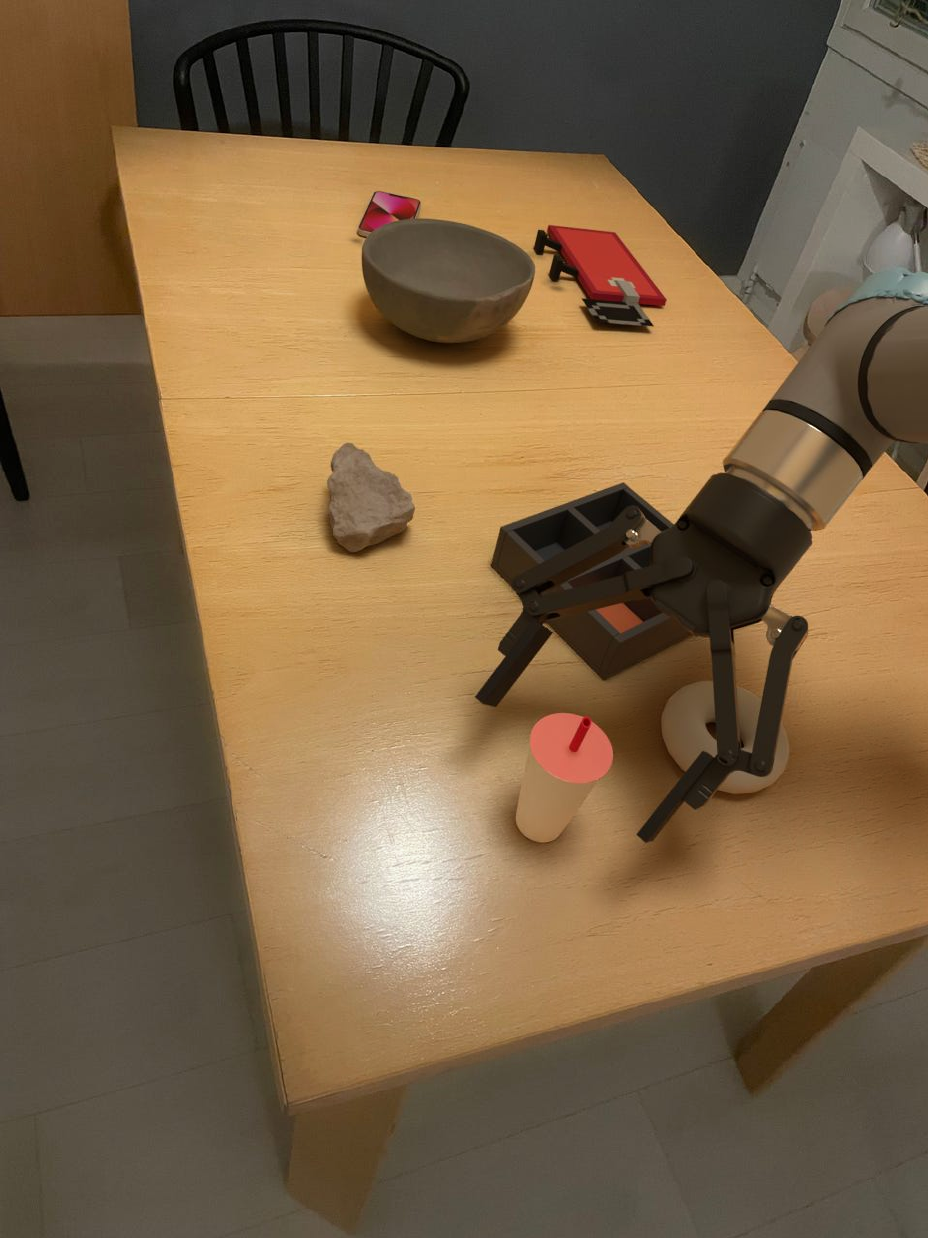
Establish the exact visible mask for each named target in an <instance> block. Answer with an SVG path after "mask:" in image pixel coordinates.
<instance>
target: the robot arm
mask: <svg viewBox="0 0 928 1238" xmlns="http://www.w3.org/2000/svg"><path fill="white" fill-rule="evenodd" d="M894 442H899V443H908V444H928V273H927V272H924V271H922V270H921V271H920V270H919V271H916V272H912V271H911V270H909V269H907V268H906V267H901V266H900V267H886V268H882V269H880V270H877V271H875V272H874V273H871V274H870V275H868V276H867V277H866V278H865V279H864V280H863V281H861V283H860V284H859V286H858V287H857V288H856V289H855V290H854V291H853V293H851V295H850V296H849V297H847V299H846V301H844V303H842V304H841V305H839V306H838V307H837V308H836V309H835V311H834V312H833V313H832V314H831V315H830V316H829V318H828V319H827V321H826V322H825V324H824V327H823V328H822V329H821V331H820V332H819V334H818V335H817V336H816V337H815V339H814V341H813V342H812V343H811V344H810V345H809V347H808V349H807V350H806V351H805V353H804V354H803V355H802V356H801V358H800V359H799V361H798V362H797V363H796V365H795V366H794V367H793V369H792V370H791V371H790V373H789V374H788V375H787V377H786V378H785V379H784V380H783V382H782V384H781V385H780V386H779V387H778V389H777V390H776V392H775V393H774V394H773V395H772V397H771V398H770V399H769V401H768V402H767V404H766V405H765V406H764V408H762V410H761V411H760V412H759V413H758V415H757V416H756V417H755V419H754V420H753V421H752V422H751V424H750V425H749V427H748V428H747V429H746V430H745V431H744V432H743V434H742V435H741V437H740V438H739V439H738V441H736V443H735V444H734V446H732V448H731V449H730V451H729V452H728V453H727V455H726V456H725V457H724V458H723V460H722V467H723V471H724V472H717V473H714V474H712V475H711V476H710V477H709V478H708V479H707V481H706V482H705V483H704V485H703V486H702V487H701V488H700V490H699V491H698V493H697V494H696V495H695V496H694V498H692V500H691V502H690V503H689V504H688V505H687V506H686V508H685V509H684V510H683V512H682V513H681V514H680V516H679V517H678V519H677V520H676V521H675V522H674V523H673V524H674V525H673V526H671V527H670V528H669V529H667V530H665V531H663V532H661V531H660V530H659V529H658V528H656V527H655V526H654V525H653V524H652V523H651V522H649V521H648V520H647V519H646V518H645V517H644V515H643V513H642V512H641V510H640V509H639V507H637V506H634V505H631V506H628V507H627V508H625V509H624V510H623V511H622V512H621V513H620V515H619V516H618V517H617V518H616V519H615V520H614V521H613V522H612V523H611V524H610V525H609V526H608V527H607V528H605V529H603V530H602V531H600V532H598V533H596V534H594V535H592V536H590V537H589V538H587V539H585V540H583V541H581V542H579V543H577V544H576V545H574V546H572V547H570V548H568V549H566V550H564V551H562V552H561V553H559V554H557V555H555V556H553V557H551V558H549V559H548V560H546V561H544V562H542V563H540V564H538V565H536V566H535V567H533V568H531V569H529V570H527V571H525V572H523V573H522V574H520V575H518V576H516V577H515V578H514V579H513V580H512V584H511V585H512V586H511V585H510V586H511V589H512V590H513V591H514V592H515V593H516V595H517V597H518V599H519V600H520V602H521V603H522V611H521V613H520V615H519V616H518V617H517V619H516V620H515V621H514V622H513V624H512V626H510V628H509V630H507V632H506V633H505V635H504V636H503V637H502V639H501V640H500V641H499V644H498V647H497V651H498V652H499V653H500V654H502V655H503V656H504V657H503V659H502V660H501V661H500V663H499V664H498V665H497V667H496V668H495V669H494V671H493V672H492V673H491V675H490V676H489V677H488V679H487V680H486V681H485V682H484V684H483V685H482V687H481V688H480V689H479V690H478V692H477V693H476V695H475V696H474V698H475V699H476V700H477V701H478V702H480V703H481V704H482V705H485V706H489V707H493V708H497V707H498V705H500V703H501V702H502V700H503V699H504V697H505V696H506V695H507V694H508V693H509V691H510V690H511V689H512V687H513V686H514V685H515V684H516V682H517V680H518V679H519V678H520V677H521V675H522V674H523V673H524V671H525V670H526V669H527V668H528V666H529V665H530V664H531V663H532V661H533V660H534V658H535V657H536V656H537V655H538V653H539V652H540V651H541V650H542V649H543V646H544V645H545V644H546V643H547V642H548V640H549V638H550V637H551V636H552V635H553V634H554V633H553V631H552V630H551V629H549V628H548V627H546V626H545V625H549V624H548V622H547V621H551V620H555V619H559V618H563V617H567V616H571V615H575V614H579V613H584V612H588V611H592V610H596V609H600V608H604V607H608V606H612V605H616V604H620V603H624V602H628V601H633V600H644V599H648V598H651V600H652V601H653V604H654V605H655V606H656V607H657V608H658V609H659V610H660V611H661V612H663V613H664V614H666V615H667V616H669V617H672V618H674V619H677V620H679V621H680V622H681V623H682V624H683V625H684V627H685V628H686V629H687V630H688V631H689V632H691V633H692V634H691V635H693V636H695V637H696V638H697V637H701V638H709V649H710V652H711V653H710V654H711V656H710V657H711V671H712V681H713V688H714V705H715V722H714V723H715V734H716V735H715V736H716V741H717V755H716V756H715V757H713V756H712V755H710V754H709V753H708V752H705V751H702V752H701V753H700V755H699V756H698V757H697V758H696V760H695V761H694V762H693V763H692V765H691V766H690V767H689V768H688V770H687V771H686V772H685V771H684V773H683V775H682V776H681V777H680V778H679V780H678V781H677V782H676V783H675V785H674V786H673V787H672V789H670V791H669V792H668V793H667V795H666V796H665V797H664V799H663V800H662V801H661V802H660V804H659V805H658V806H657V807H656V809H655V810H654V811H653V813H652V814H651V815H650V816H649V817H648V819H647V820H646V821H645V823H644V824H643V825H642V826H641V828H640V829H639V830H638V831H637V833H636V836H637V837H638V838H639V839H640V840H641V841H643V842H644V843H645V844H647V843H651V842H653V841H654V840H655V839H656V838H657V836H658V835H659V834H660V833H661V831H662V830H663V829H664V828H665V827H666V825H667V824H668V823H669V821H670V820H671V819H672V817H673V816H674V815H675V814H676V812H678V810H679V809H680V808H681V806H682V805H683V804H684V802H685V803H686V804H687V805H688V806H689V807H691V808H692V809H693V810H699V809H701V808H703V807H704V806H706V805H707V804H708V802H709V801H710V800H711V799H712V797H713V796H714V795H715V794H716V793H717V791H719V790H718V789H719V787H720V786H721V785H722V784H723V782H724V781H725V780H726V779H727V777H728V776H729V775H730V774H731V773H733V772H735V771H743V772H746V773H749V774H752V775H755V776H758V777H767V776H769V775H770V774H771V772H772V770H773V765H774V759H775V754H776V748H777V743H778V737H779V732H780V726H781V722H782V720H783V715H784V709H785V705H786V704H785V703H786V698H787V693H788V687H789V683H790V676H791V671H792V666H793V660H794V659H795V657H796V655H797V654H798V652H799V650H800V649H801V647H802V645H803V644H804V643H805V641H806V639H807V637H808V635H809V622H808V620H807V618H805V617H804V616H802V615H792V614H789V613H787V612H785V611H783V610H781V609H779V608H777V607H775V606H774V605H772V600H773V598H774V597H773V596H774V594H775V593H776V591H777V590H778V588H779V587H780V586H781V584H782V583H783V582H784V581H785V580H786V579H787V577H788V575H790V573H791V572H792V571H793V570H794V568H795V567H796V565H797V564H798V563H799V562H800V560H801V559H802V558H803V556H804V555H805V554H806V553H807V552H808V550H809V549H810V548H811V546H812V545H813V540H812V539H813V534H812V532H818V531H819V532H820V531H822V530H825V529H826V528H827V526H828V525H829V524H830V522H831V521H832V520H833V518H834V517H835V516H836V514H838V512H839V511H840V509H841V508H842V507H843V505H844V504H845V502H847V500H848V499H849V498H850V496H851V495H852V493H853V492H854V491H855V489H856V488H858V486H859V485H860V483H861V482H862V480H864V479H865V478H866V476H867V475H868V473H869V472H870V471H872V470H871V469H872V468H873V467H874V466H875V465H876V463H877V462H878V461H879V459H880V458H881V457H882V456H883V455H884V453H885V452H886V451H887V450H888V448H889V447H890V446H891V445H892V444H893V443H894ZM644 544H650V545H651V547H650V566H648V567H644V568H641V569H637V570H633V571H629V572H626V573H625V574H623V575H621V576H618V577H614V578H610V579H606V580H602V581H598V582H594V583H590V584H587V585H583V586H579V587H575V588H571V589H567V590H563V591H559V592H555V593H551V594H548V595H544V596H542V594H544V593H545V592H547V591H549V590H551V589H553V588H555V587H557V586H559V585H561V584H563V583H564V582H566V581H568V580H570V579H572V578H574V577H576V576H578V575H580V574H582V573H583V572H585V571H587V570H589V569H591V568H593V567H595V566H597V565H599V564H601V563H602V562H604V561H606V560H608V559H610V558H612V557H614V556H616V555H617V554H619V553H621V552H622V551H624V550H625V549H626V548H628V547H630V548H638V547H640V546H642V545H644ZM761 622H763V623H764V624H765V625H766V626H767V630H766V634H765V637H766V641H767V643H768V644H769V645H770V646H771V647H772V649H771V651H770V655H769V659H768V664H767V668H766V669H767V670H766V675H765V680H764V685H763V689H762V697H761V700H762V701H761V707H760V712H759V717H758V723H757V728H756V734H755V739H754V744H753V750H752V753H750V752H747V751H744V750H741V748H742V745H741V744H742V743H741V738H740V728H739V713H738V697H737V686H738V683H737V669H736V668H737V667H736V645H735V631H736V630H739V629H743V628H746V627H748V626H752V625H753V626H754V625H755V624H758V623H761Z"/></svg>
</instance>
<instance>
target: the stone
mask: <svg viewBox="0 0 928 1238" xmlns="http://www.w3.org/2000/svg"><path fill="white" fill-rule="evenodd" d="M330 471H331V474H330V475H329V476H328V477H327V481H326V487H327V490H328V493H329V495H330V502H329V505H328V518H329V519H328V520H329V522H330V527H331V528H332V536H333V537H334V538H335V539H336V542H337V544H338V545H340V546H341V547H343V548H345V549H346V551H347V552H349V553H356V552H360V551H361V550H363V549H365V548H367V547H368V546H374V545H377V544H378V543H382V542H384V541H386V540H387V539H390V538H391V537H393V536H395V535H397V534H399V533H401V532H403V531H404V530H405V529H406V528H407V525H408V523H410V522H411V521H412V520H413V519H414V514H415V510H416V508H415V507H416V506H415V504H414V502H413V497H412V495H411V493H410V492H408V491H407V490H405V489H404V488H403V487H402V484H401V482H400V480H399V477H398V475H396V473H392V472H389V471H387V470H382V469H381V468H380V467H378V466H377V465H376V464H375V462H374V460H373V459H372V457H371V455H370V454H369V453H368V452H367V451H365V450H364V449H362V448H361V449H360V448H358V447H356V445H355V444H354V443H352V442H346V443H344V444H342V445H341V446H340V447H339V448H338V449H336V450H335V451H334V453H333V454H332V458H331V459H330Z"/></svg>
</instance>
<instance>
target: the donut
mask: <svg viewBox="0 0 928 1238" xmlns="http://www.w3.org/2000/svg"><path fill="white" fill-rule="evenodd" d="M737 697H738V713H739V728H740V740H741V741H742V744H743V747H741V750H744V751H747V752H750V753H752V750H753V744H754V739H755V734H756V728H757V723H758V717H759V712H760V707H761V701H762V698H760V697H759V696H757V695H756V694H755V693H754V692H752V691H750V690H749V689H746V688H744V687H742V686H739V685H737ZM660 718H661V720H660V721H661V736H662V739H663V742H664V744H665V747H666V749H667V751H668V754H669V755H670V756H671V758H672V759H673V760H674V761H675V763H676V764H677V765H678V767H679V768H680V769H681V770H682V771H684V773H685V772H686V771H687V770H688V768H689V767H690V766H691V765H692V763H693V762H694V761H695V760H696V758H697V757H698V756H699V755H700V753H701V752H702V751H705V752H708V753H709V754H710V755H712V756H713V757H715V756H716V755H717V739H715V738H714V737H713V736H712V735H711V734H710V732H709V731H708V729H707V726H706V724H708V723H716V722H715V705H714V688H713V680H699V681H696V682H693V683H690V684H688V685H685V686H682V687H681V688H680V689H678V690H677V691H676V692H675V693H673V695H671V696H670V697H669V699H668V700H667V702H666V704H665V707H664V709H663V711H662V714H661V717H660ZM788 737H789V736H788V732H787V730H786V728H785V726H784V724H783V722H782V721H781V726H780V732H779V737H778V743H777V748H776V754H775V759H774V765H773V770H772V772H771V774H770V775H769V776H767V777H758V776H755V775H752V774H749V773H746V772H743V771H735V772H733V773H731V774H730V775H729V776H728V777H727V779H726V780H725V781H724V782H723V784H722V785H721V786H720V787H719V789H718V790H717V791H719V792H724V793H728V794H733V795H737V794H739V795H740V794H751V793H757V792H759V791H761V790H763V789H766V788H768V787H770V786H772V785H773V784H774V783H775V782H777V780H778V779H779V778H780V777H781V775H782V774H784V772H785V770H786V768H787V764H788V761H789V757H790V753H791V751H790V744H789V738H788Z"/></svg>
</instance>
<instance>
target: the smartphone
mask: <svg viewBox="0 0 928 1238" xmlns="http://www.w3.org/2000/svg"><path fill="white" fill-rule="evenodd" d="M421 207H422V202H421V200H419V199H418V198H414V197H410V196H404V195H400V194H396V193H391V192H385V191H381V190H377V191H373V193H372V195H371V198H370V199H369V202H368V204H367V206H366V208H365V210H364V212H363V214H362V216H361V219H360V221H359V223H358V226H357V234H358V235H360V236H362V237H365V238H367V236H368V235H369V234H370V233H371V232H373V231H374V230H375V229H377V228H378V227H380V226H382V225H385V224H387V223H391V222H394V221H399V220H406V219H416V218H418V217H419V213H420V210H421Z"/></svg>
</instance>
